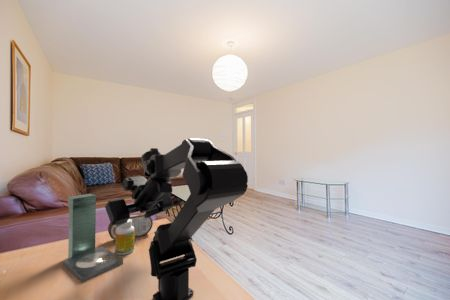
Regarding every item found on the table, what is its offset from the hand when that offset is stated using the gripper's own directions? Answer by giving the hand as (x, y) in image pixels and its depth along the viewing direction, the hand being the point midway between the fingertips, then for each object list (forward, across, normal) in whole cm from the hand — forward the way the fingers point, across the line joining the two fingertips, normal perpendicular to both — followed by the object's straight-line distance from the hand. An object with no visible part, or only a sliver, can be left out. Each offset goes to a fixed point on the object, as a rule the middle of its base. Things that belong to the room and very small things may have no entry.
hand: (131, 220), depth 62 cm
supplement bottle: (+10, 0, +5) cm, 11 cm away
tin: (+16, -7, -1) cm, 17 cm away
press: (+13, +9, +1) cm, 16 cm away
